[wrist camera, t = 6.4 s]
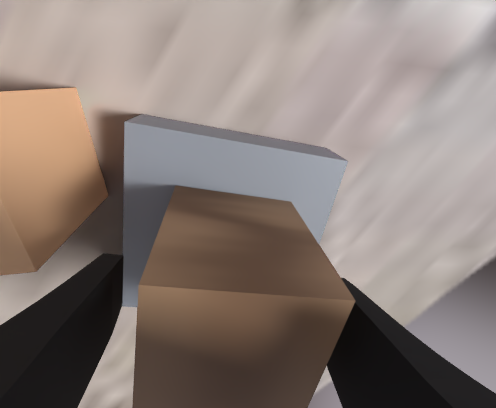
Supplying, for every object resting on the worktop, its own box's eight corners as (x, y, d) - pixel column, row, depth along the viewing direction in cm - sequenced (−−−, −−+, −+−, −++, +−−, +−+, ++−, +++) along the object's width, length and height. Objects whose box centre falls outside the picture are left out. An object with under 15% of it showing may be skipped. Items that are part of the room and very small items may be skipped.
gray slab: (138, 268, 16) (122, 306, 13) (144, 112, 13) (124, 121, 10) (281, 281, 18) (293, 317, 15) (323, 145, 14) (348, 161, 11)
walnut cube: (166, 282, 13) (131, 426, 8) (175, 185, 11) (138, 284, 6) (266, 289, 14) (300, 423, 8) (290, 201, 12) (355, 300, 7)
